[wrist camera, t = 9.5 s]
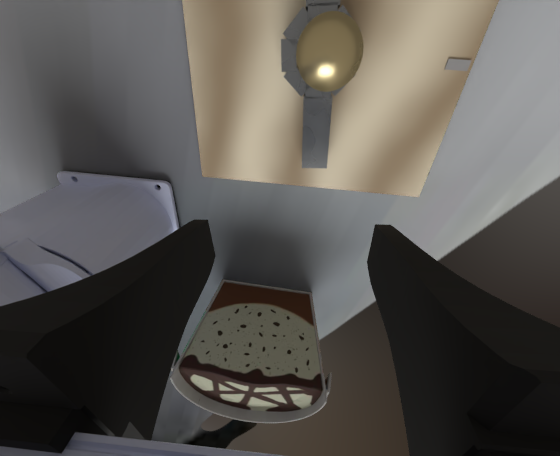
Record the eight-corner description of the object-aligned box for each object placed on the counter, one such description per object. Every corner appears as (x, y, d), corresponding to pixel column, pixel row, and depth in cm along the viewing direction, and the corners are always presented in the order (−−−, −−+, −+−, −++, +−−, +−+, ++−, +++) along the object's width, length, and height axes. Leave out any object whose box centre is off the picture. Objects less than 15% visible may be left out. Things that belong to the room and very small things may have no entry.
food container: (211, 314, 30) (173, 412, 21) (208, 277, 26) (162, 376, 18) (314, 330, 29) (317, 435, 21) (325, 294, 26) (334, 403, 18)
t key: (343, 160, 17) (346, 168, 16) (284, 160, 18) (283, 167, 16) (375, -117, 11) (384, -142, 9) (281, -108, 11) (277, -132, 10)
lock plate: (206, 171, 20) (189, 189, 17) (170, -180, 11) (122, -265, 8) (414, 191, 19) (432, 213, 16) (553, -168, 10) (647, -256, 7)
